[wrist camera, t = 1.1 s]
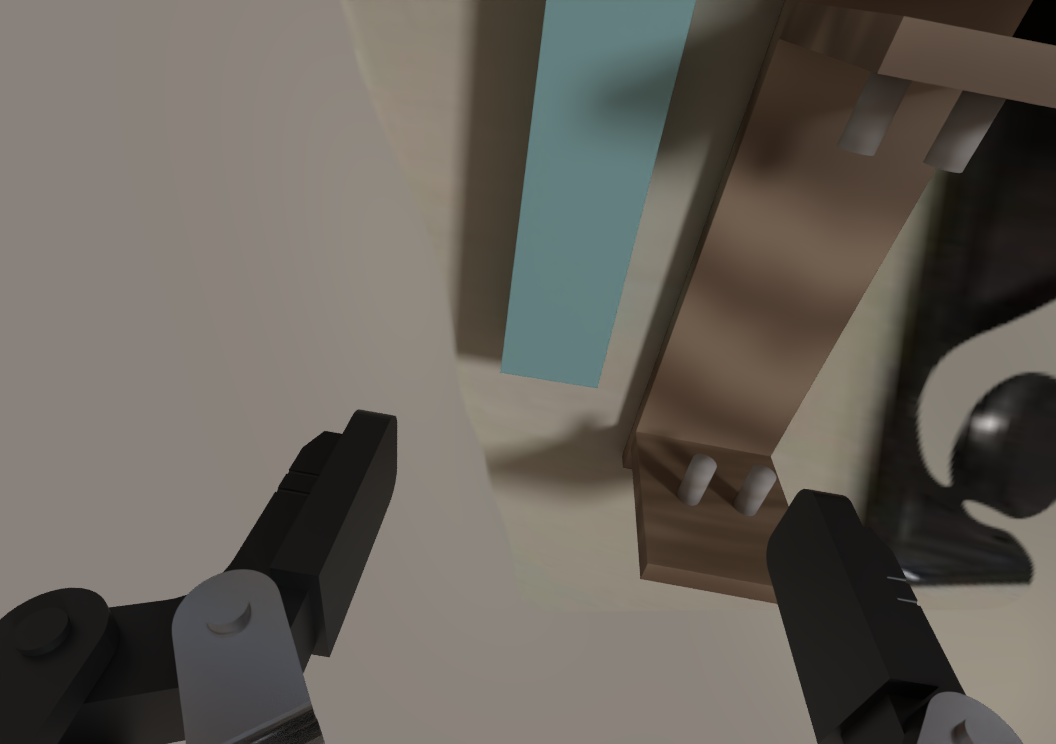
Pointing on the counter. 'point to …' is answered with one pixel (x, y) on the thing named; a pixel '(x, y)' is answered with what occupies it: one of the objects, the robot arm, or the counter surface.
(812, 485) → the counter surface
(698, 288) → the rack
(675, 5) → the teal rectangular block
